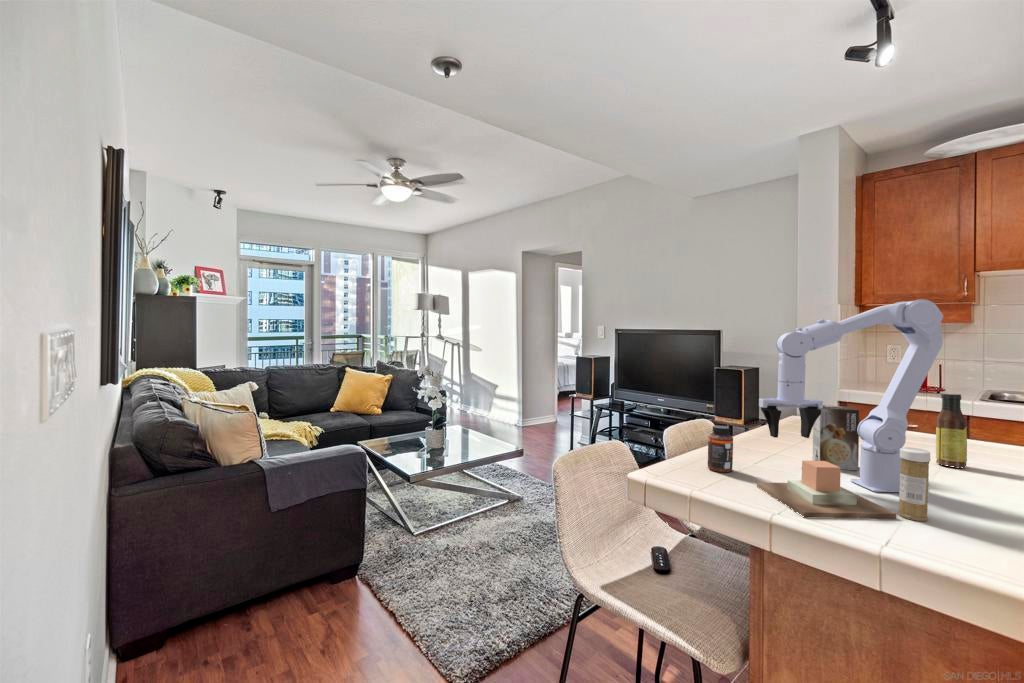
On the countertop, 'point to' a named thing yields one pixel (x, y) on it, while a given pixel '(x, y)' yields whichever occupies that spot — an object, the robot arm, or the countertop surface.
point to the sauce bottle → (951, 432)
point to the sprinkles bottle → (914, 483)
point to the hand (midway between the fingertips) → (789, 436)
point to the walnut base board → (826, 509)
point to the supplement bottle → (720, 449)
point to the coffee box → (837, 437)
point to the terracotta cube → (821, 475)
